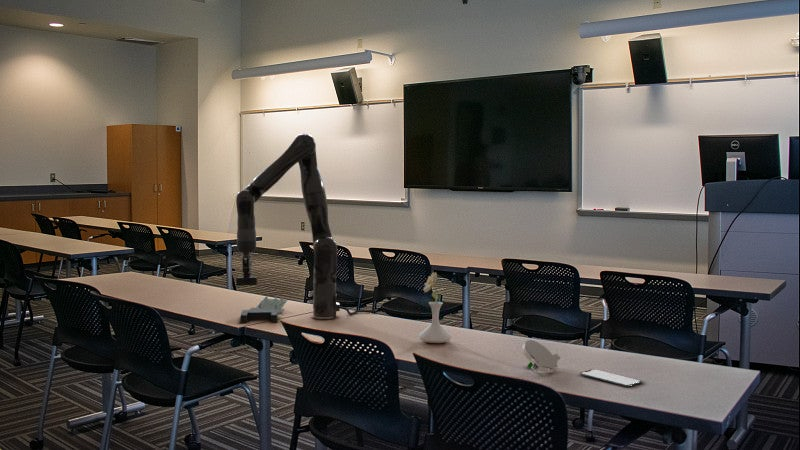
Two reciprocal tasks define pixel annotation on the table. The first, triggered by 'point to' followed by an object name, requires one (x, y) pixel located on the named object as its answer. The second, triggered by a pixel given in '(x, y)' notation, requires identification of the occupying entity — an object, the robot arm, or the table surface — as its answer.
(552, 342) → the table surface
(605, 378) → the smartphone
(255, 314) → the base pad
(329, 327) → the table surface
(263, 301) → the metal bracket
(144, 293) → the table surface
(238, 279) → the small black pad
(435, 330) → the flower in vase
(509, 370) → the table surface
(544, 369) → the tabbed white plastic disc
